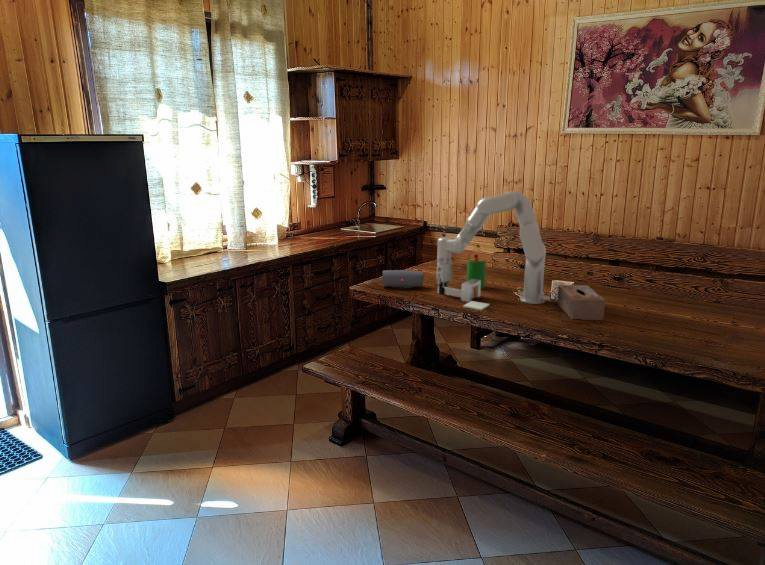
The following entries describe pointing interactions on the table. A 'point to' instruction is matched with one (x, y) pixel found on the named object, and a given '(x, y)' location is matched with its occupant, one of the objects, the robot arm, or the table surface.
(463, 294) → the housing
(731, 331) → the table surface
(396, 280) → the bluetooth speaker
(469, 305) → the mat
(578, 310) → the tissue box cover
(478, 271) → the motor
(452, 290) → the push rod
